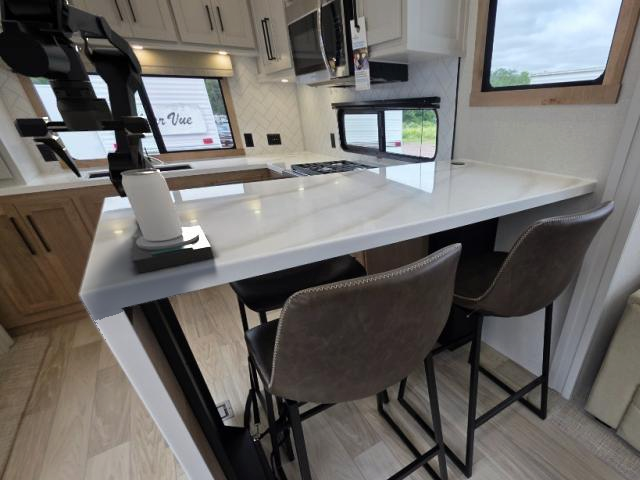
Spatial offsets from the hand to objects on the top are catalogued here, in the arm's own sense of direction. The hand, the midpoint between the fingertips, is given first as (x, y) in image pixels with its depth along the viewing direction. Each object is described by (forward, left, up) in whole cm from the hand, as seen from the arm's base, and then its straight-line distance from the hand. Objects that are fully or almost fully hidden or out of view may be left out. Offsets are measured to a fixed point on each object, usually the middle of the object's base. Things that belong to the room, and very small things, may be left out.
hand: (109, 174), depth 66 cm
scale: (+15, +6, -13) cm, 21 cm away
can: (+14, +6, -10) cm, 18 cm away
